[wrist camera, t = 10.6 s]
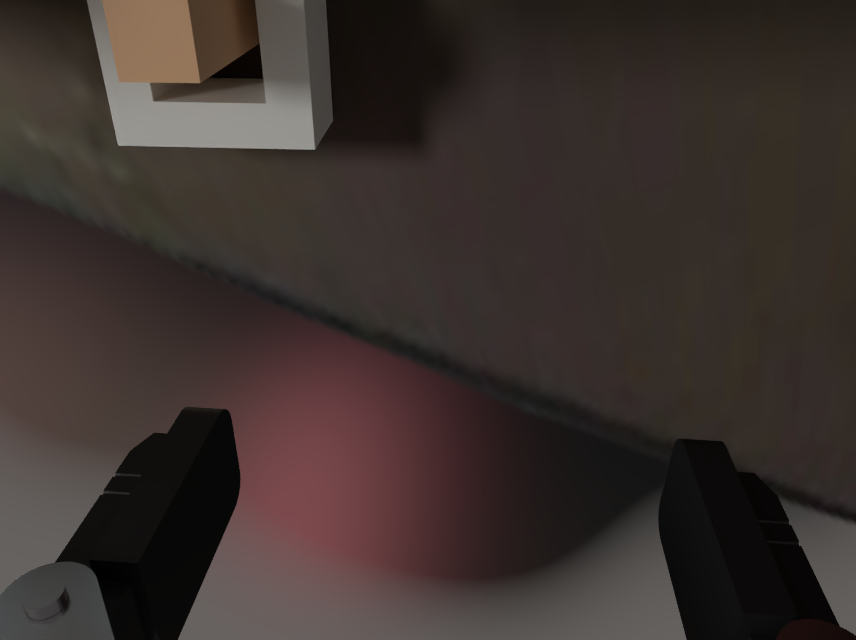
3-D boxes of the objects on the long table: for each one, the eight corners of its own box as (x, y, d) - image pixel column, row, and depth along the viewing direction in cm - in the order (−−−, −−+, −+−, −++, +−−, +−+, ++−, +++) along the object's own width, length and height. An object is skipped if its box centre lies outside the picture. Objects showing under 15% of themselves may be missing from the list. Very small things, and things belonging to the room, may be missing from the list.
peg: (260, -31, 33) (186, -8, 24) (267, 38, 34) (200, 83, 26) (195, -32, 33) (100, -8, 24) (206, 37, 34) (119, 82, 26)
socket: (321, -83, 32) (297, -81, 27) (333, 120, 36) (314, 149, 32) (122, -85, 32) (68, -83, 28) (159, 117, 37) (118, 145, 32)
